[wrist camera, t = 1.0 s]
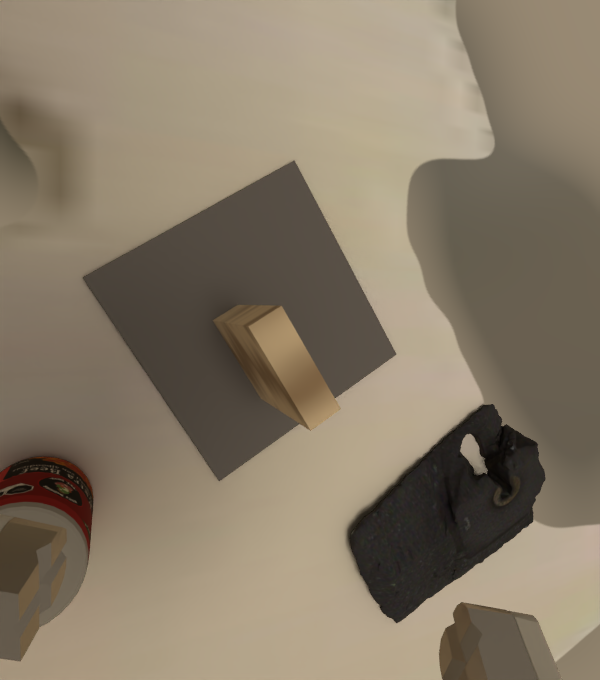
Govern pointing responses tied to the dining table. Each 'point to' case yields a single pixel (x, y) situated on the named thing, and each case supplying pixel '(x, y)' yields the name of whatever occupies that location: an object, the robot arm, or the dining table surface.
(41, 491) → the canned food
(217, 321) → the beech tile
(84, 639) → the dining table surface
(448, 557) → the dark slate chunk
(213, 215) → the rubber mat
